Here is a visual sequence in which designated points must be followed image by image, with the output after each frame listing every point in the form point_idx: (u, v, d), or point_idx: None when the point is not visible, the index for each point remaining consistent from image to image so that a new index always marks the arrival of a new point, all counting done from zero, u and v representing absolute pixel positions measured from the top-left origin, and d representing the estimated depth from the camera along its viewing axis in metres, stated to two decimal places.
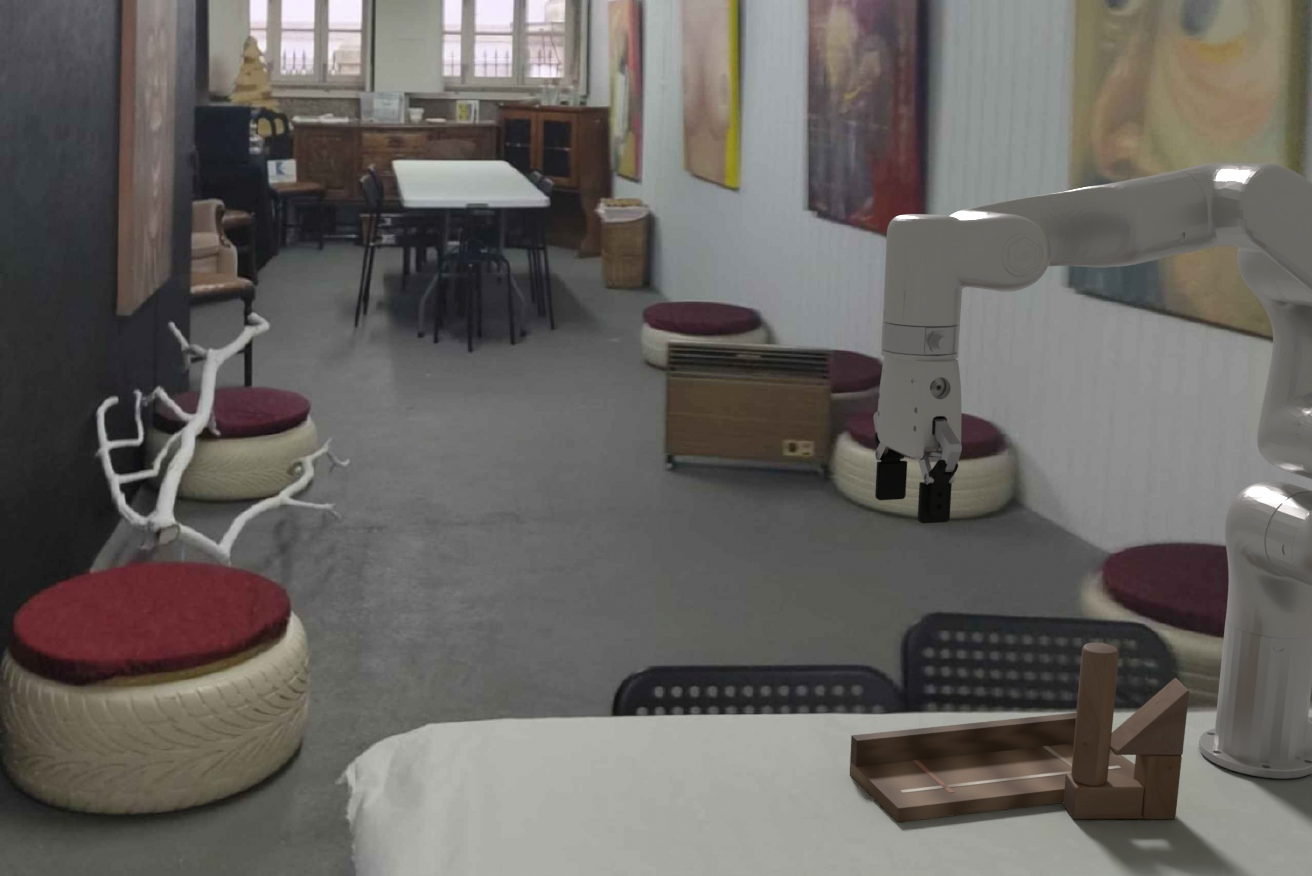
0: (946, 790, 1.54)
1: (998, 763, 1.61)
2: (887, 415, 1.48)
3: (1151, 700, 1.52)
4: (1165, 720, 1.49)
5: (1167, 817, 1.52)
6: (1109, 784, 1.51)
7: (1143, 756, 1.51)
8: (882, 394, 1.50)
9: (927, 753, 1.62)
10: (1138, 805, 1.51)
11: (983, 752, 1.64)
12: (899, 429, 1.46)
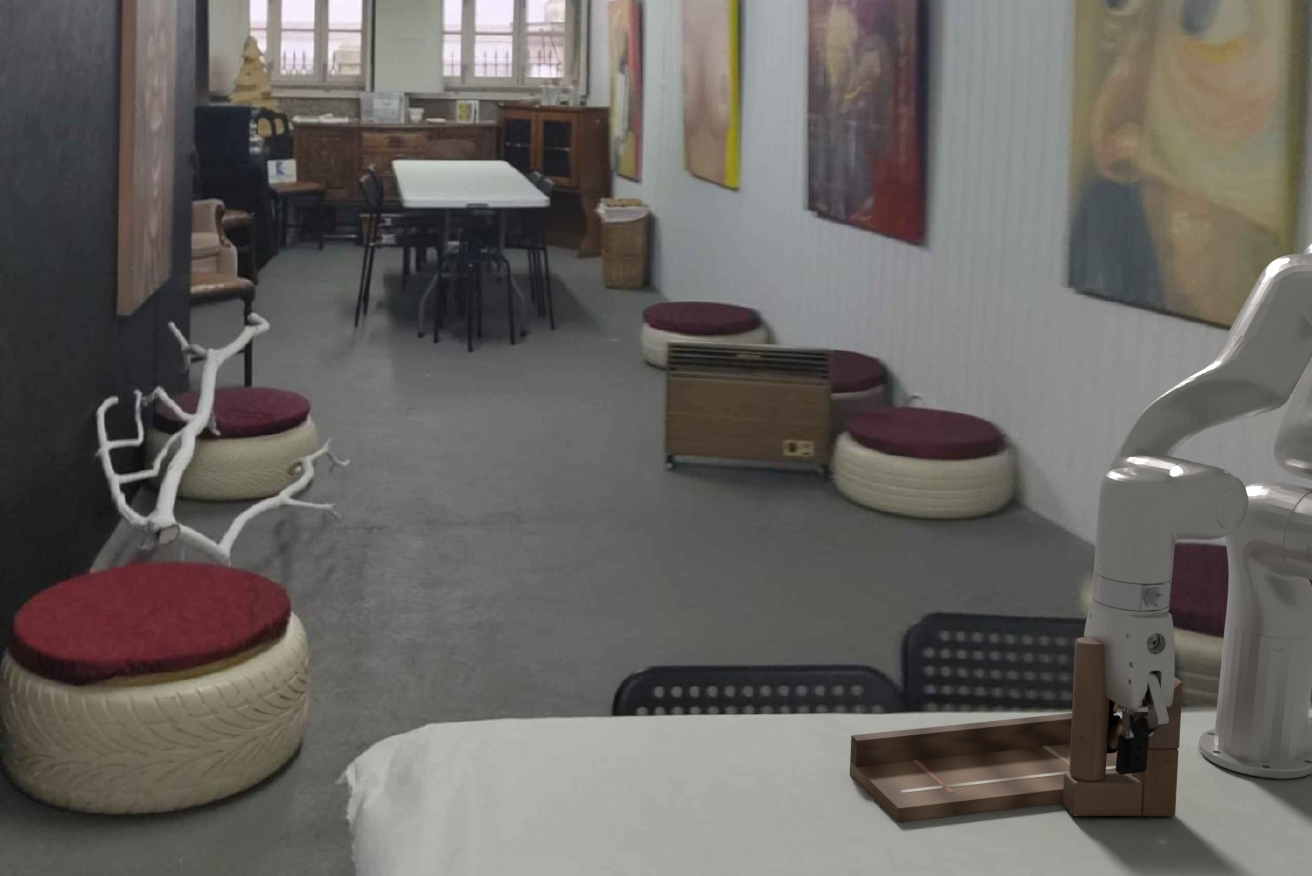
0: (946, 790, 1.54)
1: (998, 763, 1.61)
2: None
3: None
4: None
5: (1167, 813, 1.52)
6: (1107, 780, 1.52)
7: None
8: None
9: (927, 753, 1.62)
10: (1137, 801, 1.51)
11: (983, 752, 1.64)
12: (1110, 678, 1.49)
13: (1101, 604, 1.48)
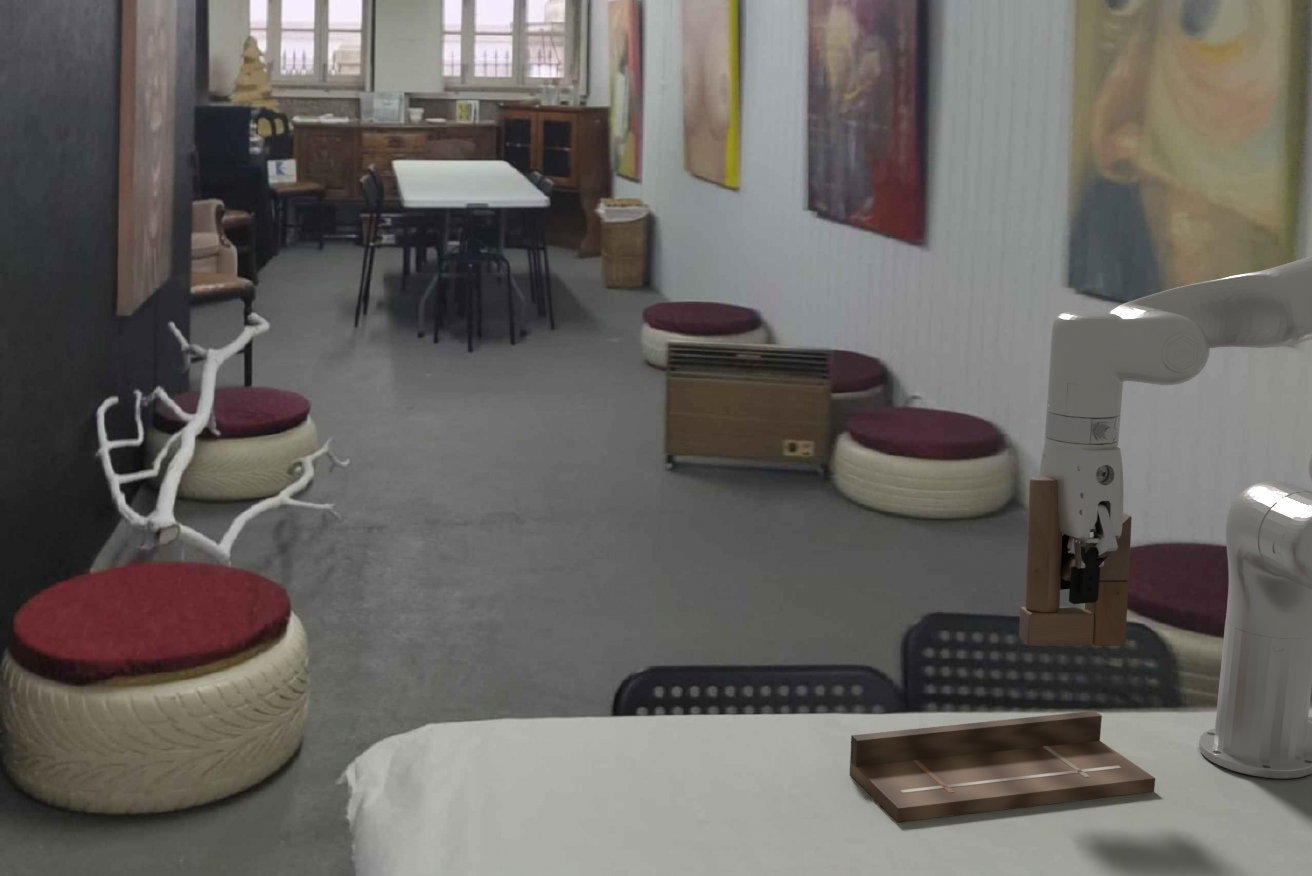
0: (946, 790, 1.54)
1: (998, 763, 1.61)
2: None
3: None
4: None
5: (1117, 643, 1.59)
6: (1061, 611, 1.59)
7: None
8: None
9: (927, 753, 1.62)
10: (1089, 631, 1.59)
11: (983, 752, 1.64)
12: (1063, 511, 1.57)
13: (1053, 440, 1.55)
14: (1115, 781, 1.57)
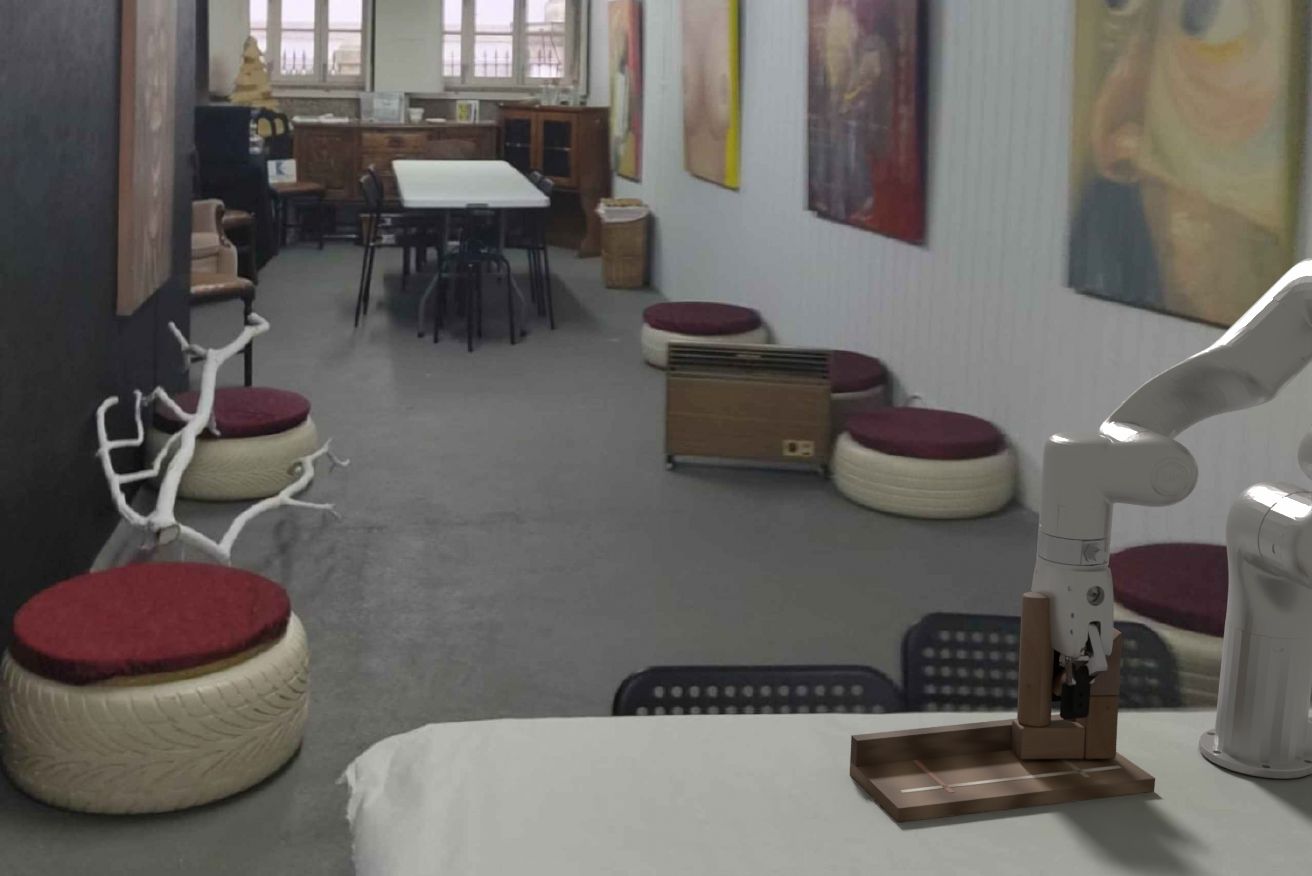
0: (946, 790, 1.54)
1: (998, 763, 1.61)
2: None
3: None
4: None
5: (1108, 756, 1.62)
6: (1052, 725, 1.62)
7: None
8: None
9: (927, 753, 1.62)
10: (1080, 744, 1.61)
11: (983, 752, 1.64)
12: (1054, 629, 1.59)
13: (1045, 559, 1.58)
14: (1115, 781, 1.57)
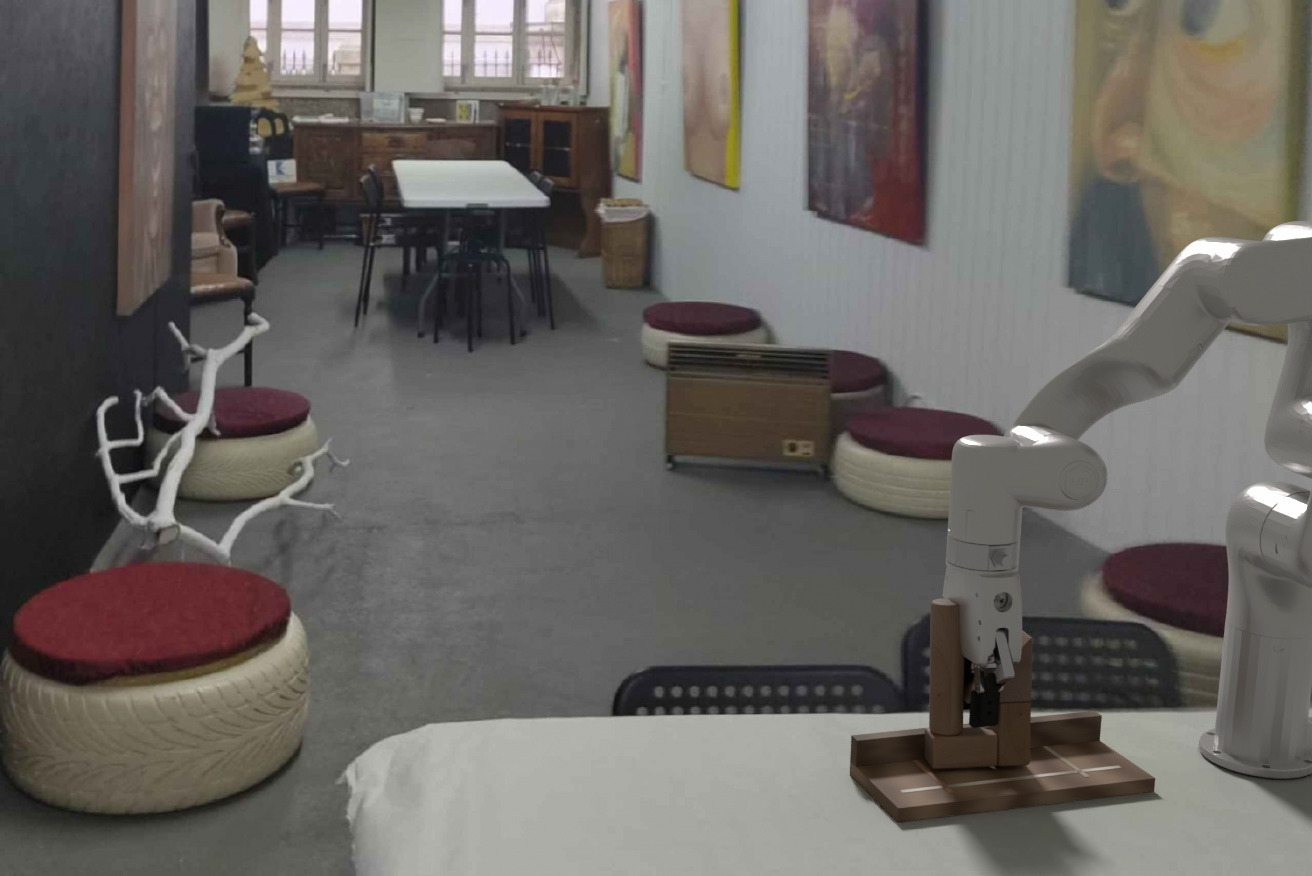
0: (946, 790, 1.54)
1: None
2: None
3: None
4: None
5: (1021, 763, 1.59)
6: (965, 733, 1.59)
7: None
8: None
9: None
10: (993, 752, 1.59)
11: None
12: (963, 635, 1.56)
13: (953, 565, 1.55)
14: (1115, 781, 1.57)
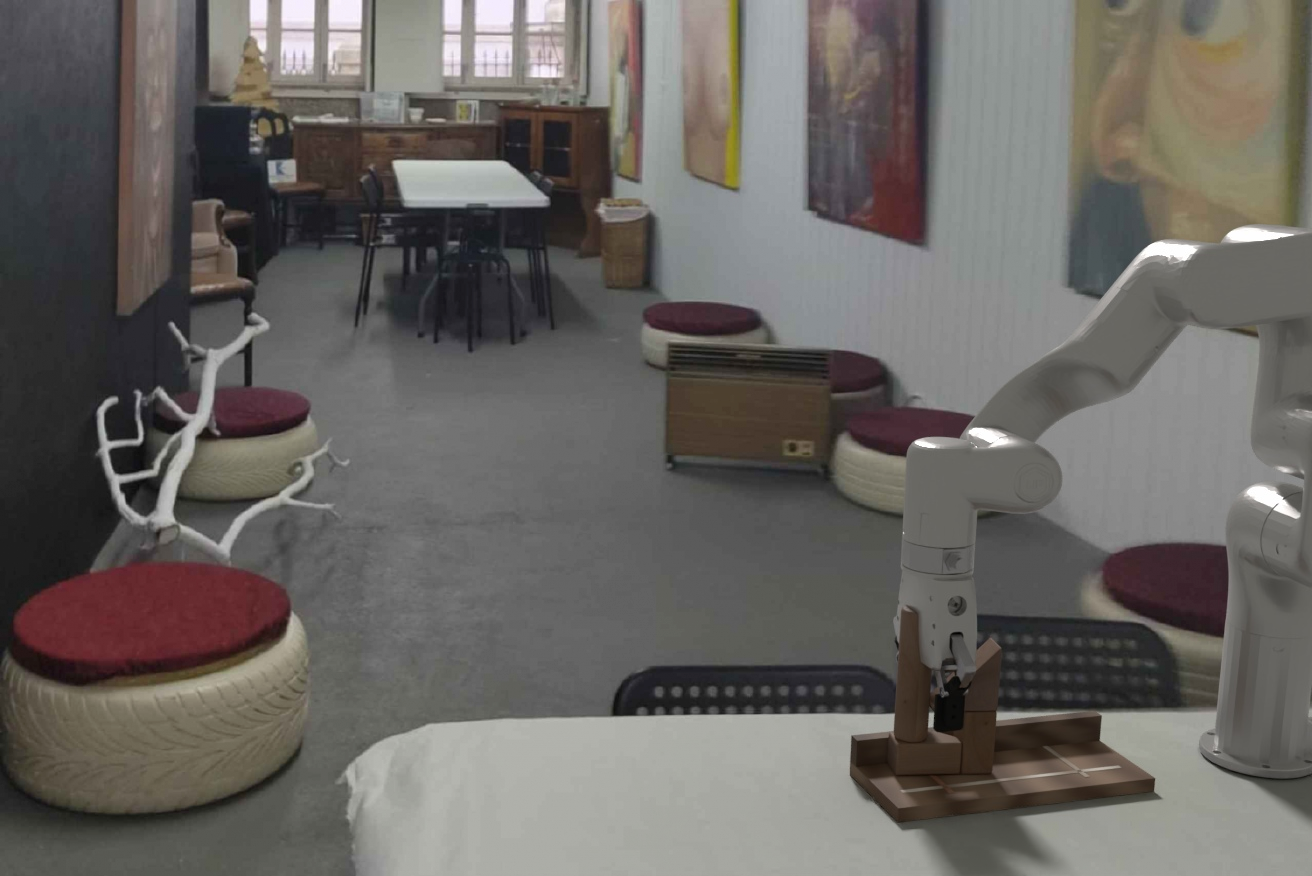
0: (946, 790, 1.54)
1: (998, 763, 1.61)
2: None
3: None
4: (980, 677, 1.56)
5: (984, 771, 1.58)
6: (929, 740, 1.58)
7: None
8: (901, 602, 1.58)
9: None
10: (956, 760, 1.58)
11: None
12: None
13: (907, 568, 1.53)
14: (1115, 781, 1.57)
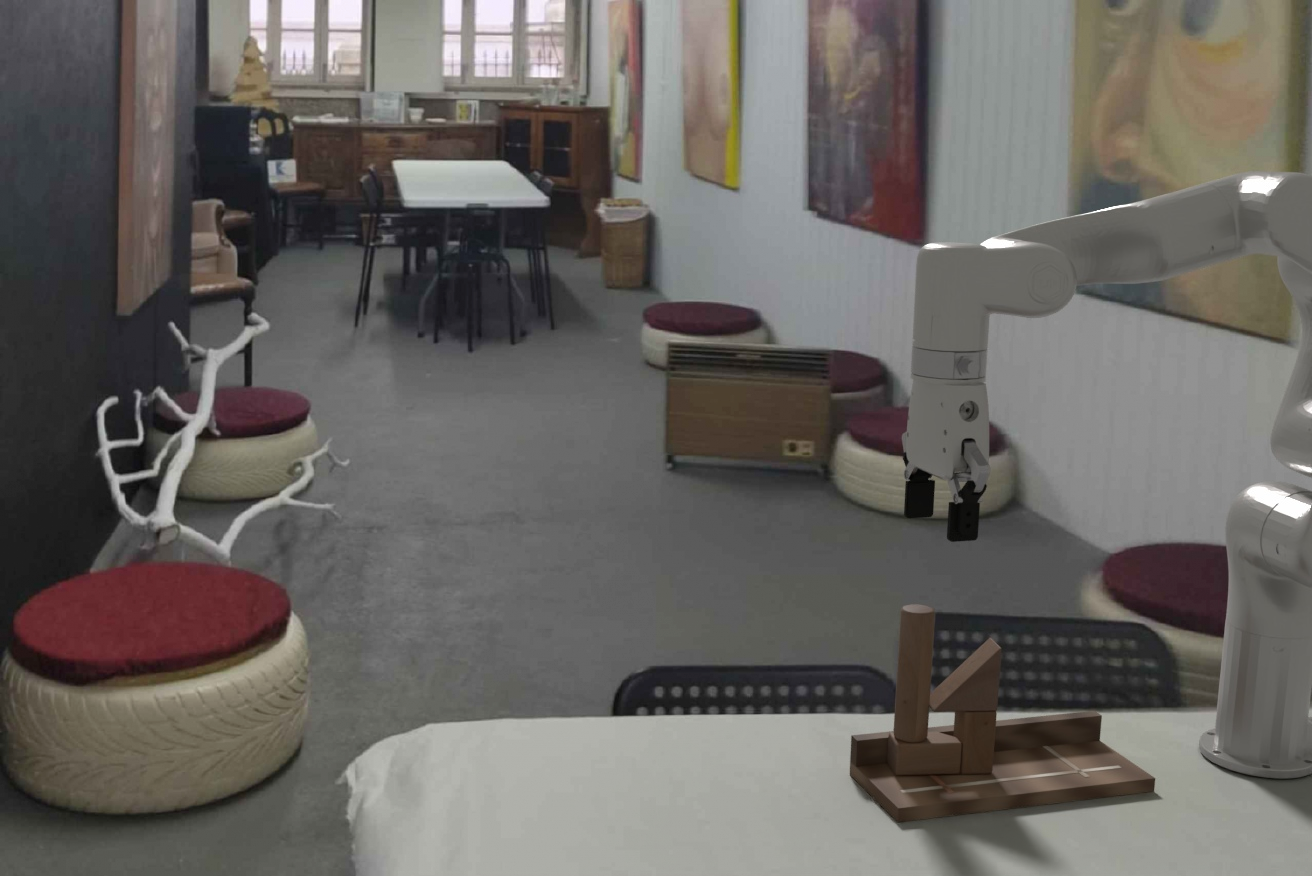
0: (946, 790, 1.54)
1: (998, 763, 1.61)
2: (916, 437, 1.53)
3: (968, 659, 1.59)
4: (979, 677, 1.56)
5: (984, 771, 1.58)
6: (929, 740, 1.58)
7: (961, 713, 1.58)
8: (911, 416, 1.54)
9: None
10: (956, 760, 1.58)
11: None
12: (928, 450, 1.51)
13: (917, 375, 1.50)
14: (1115, 781, 1.57)
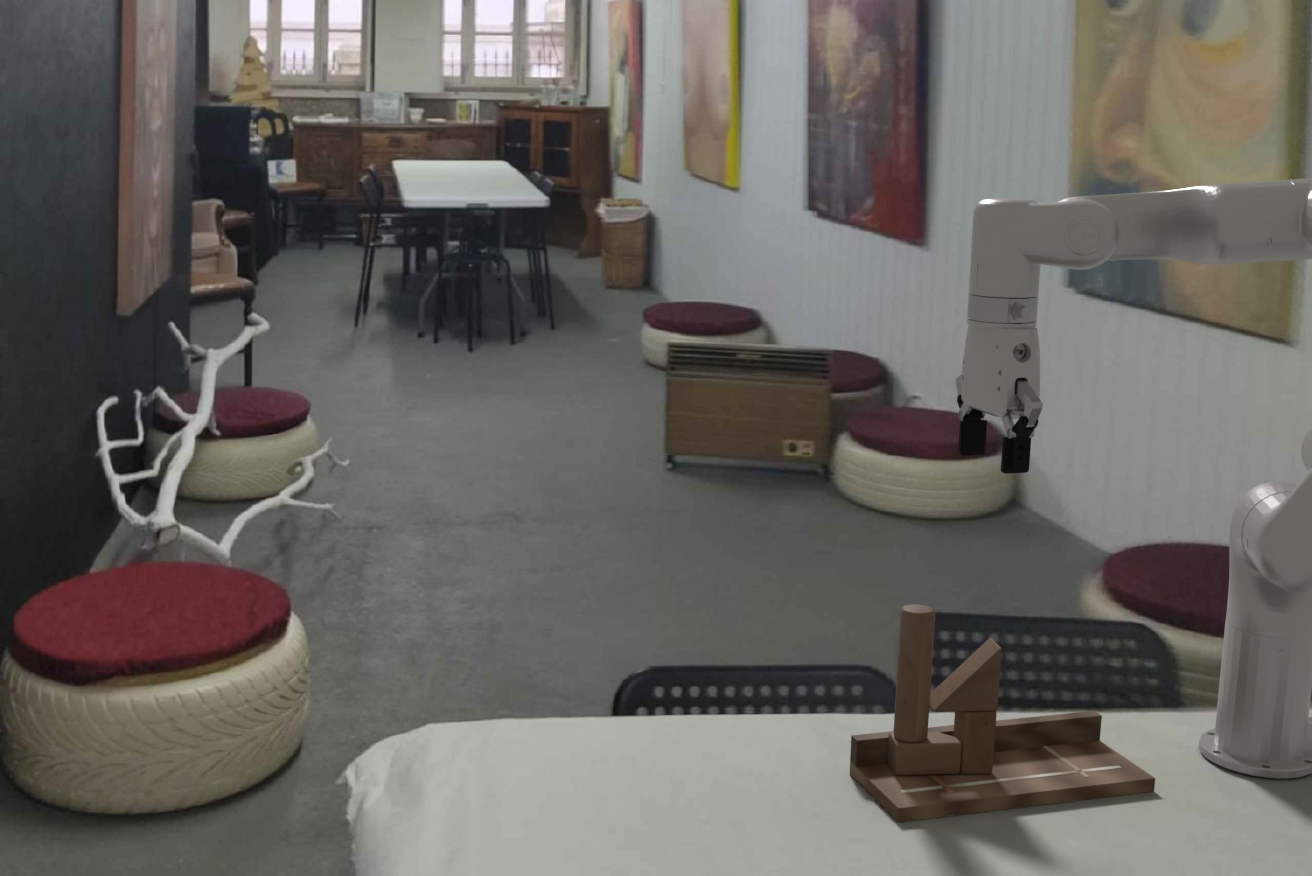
0: (946, 790, 1.54)
1: (998, 763, 1.61)
2: (972, 378, 1.66)
3: (968, 659, 1.59)
4: (979, 677, 1.56)
5: (984, 771, 1.58)
6: (929, 740, 1.58)
7: (961, 713, 1.58)
8: (966, 359, 1.67)
9: None
10: (956, 760, 1.58)
11: None
12: (983, 390, 1.64)
13: (974, 321, 1.62)
14: (1115, 781, 1.57)
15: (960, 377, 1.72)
